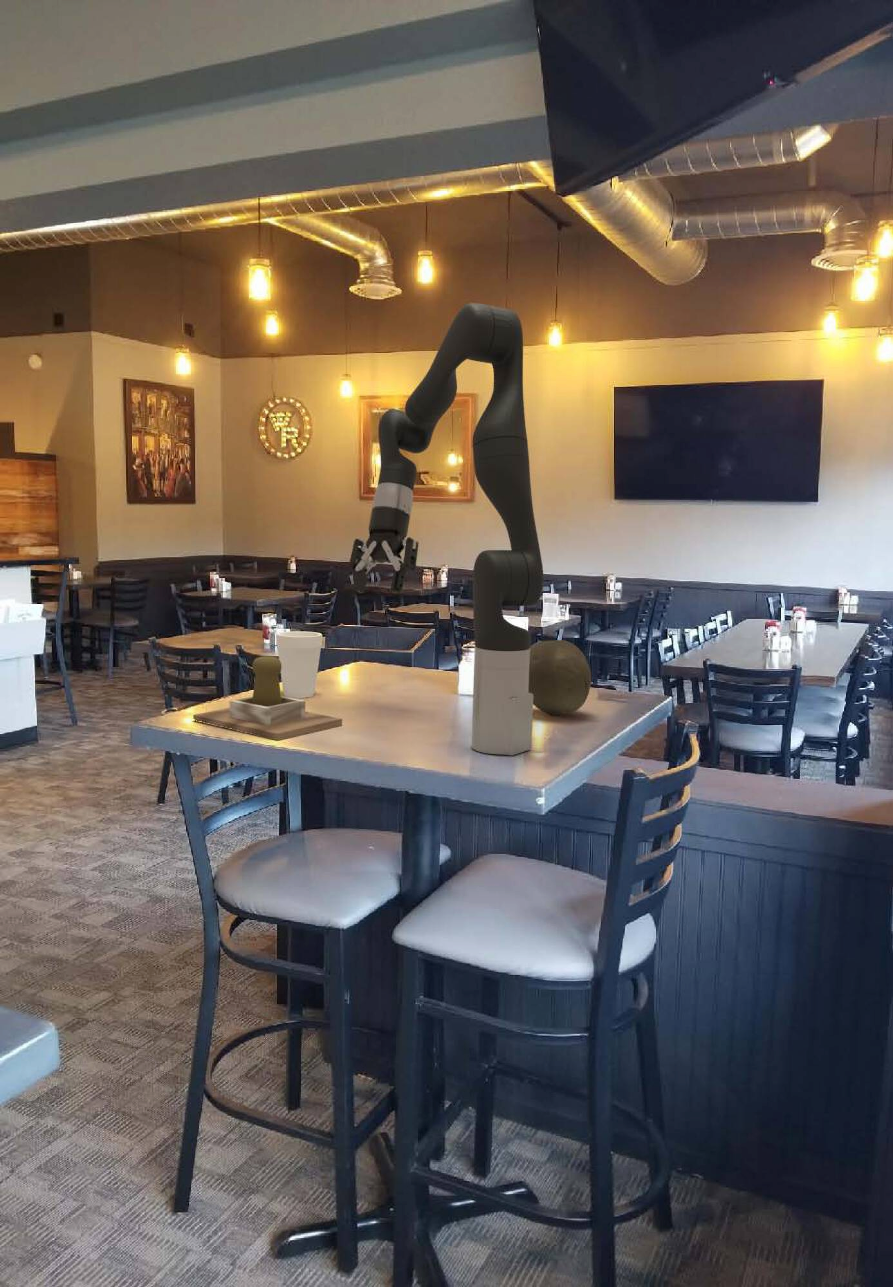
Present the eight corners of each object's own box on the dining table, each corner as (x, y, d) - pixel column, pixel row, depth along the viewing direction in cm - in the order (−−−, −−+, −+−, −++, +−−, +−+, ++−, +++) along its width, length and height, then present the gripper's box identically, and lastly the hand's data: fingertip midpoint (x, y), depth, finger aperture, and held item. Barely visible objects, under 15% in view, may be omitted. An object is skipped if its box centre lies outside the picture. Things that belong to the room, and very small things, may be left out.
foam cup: (268, 697, 200) (268, 635, 198) (289, 689, 209) (289, 630, 207) (309, 701, 197) (309, 638, 196) (328, 693, 206) (329, 633, 204)
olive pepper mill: (276, 720, 173) (276, 660, 171) (244, 718, 174) (244, 658, 172) (288, 714, 179) (288, 655, 177) (257, 711, 180) (257, 653, 178)
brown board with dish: (342, 725, 176) (342, 702, 175) (277, 740, 163) (277, 716, 163) (258, 708, 189) (258, 687, 188) (193, 721, 176) (193, 698, 175)
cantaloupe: (569, 706, 199) (572, 634, 197) (601, 721, 186) (605, 644, 183) (506, 709, 194) (508, 635, 192) (534, 724, 181) (537, 645, 179)
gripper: (350, 506, 186) (336, 586, 184) (410, 502, 179) (396, 586, 176) (373, 519, 193) (359, 597, 190) (432, 516, 185) (418, 597, 182)
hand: (377, 592), depth 183 cm, fingers open, 8 cm apart
